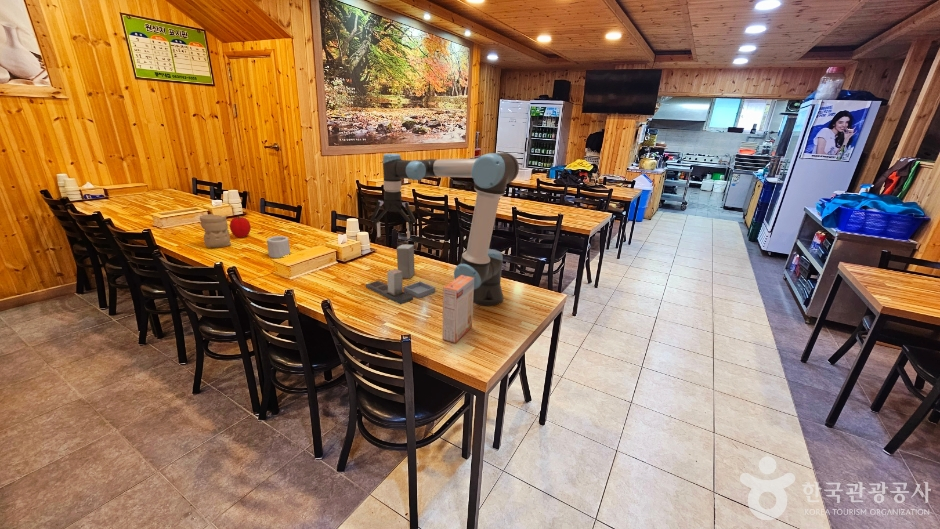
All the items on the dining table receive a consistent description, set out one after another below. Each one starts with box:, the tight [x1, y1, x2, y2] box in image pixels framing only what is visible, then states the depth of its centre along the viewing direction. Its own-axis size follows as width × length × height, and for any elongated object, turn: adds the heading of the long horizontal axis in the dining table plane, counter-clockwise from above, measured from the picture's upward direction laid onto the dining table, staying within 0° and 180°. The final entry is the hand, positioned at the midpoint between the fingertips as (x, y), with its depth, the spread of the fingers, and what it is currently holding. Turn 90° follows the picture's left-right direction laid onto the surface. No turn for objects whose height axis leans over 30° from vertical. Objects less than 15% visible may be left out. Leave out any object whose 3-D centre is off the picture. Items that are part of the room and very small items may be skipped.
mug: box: [266, 235, 291, 259], centre depth 207 cm, size 14×11×10 cm
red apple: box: [229, 216, 251, 238], centre depth 235 cm, size 12×12×13 cm
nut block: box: [386, 268, 404, 297], centre depth 164 cm, size 5×5×12 cm
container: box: [199, 213, 232, 248], centre depth 215 cm, size 13×13×18 cm
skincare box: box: [396, 244, 416, 280], centre depth 187 cm, size 8×7×16 cm
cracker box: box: [442, 275, 474, 344], centre depth 135 cm, size 14×6×21 cm, turn 154°
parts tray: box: [403, 280, 436, 300], centre depth 171 cm, size 10×10×2 cm
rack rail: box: [365, 280, 414, 305], centre depth 168 cm, size 25×7×2 cm, turn 50°
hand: (393, 237), depth 169 cm, fingers open, 13 cm apart
